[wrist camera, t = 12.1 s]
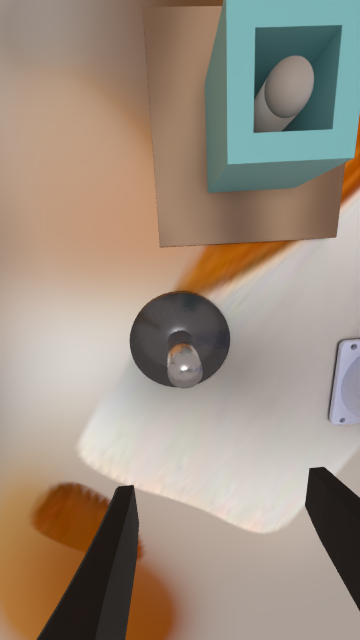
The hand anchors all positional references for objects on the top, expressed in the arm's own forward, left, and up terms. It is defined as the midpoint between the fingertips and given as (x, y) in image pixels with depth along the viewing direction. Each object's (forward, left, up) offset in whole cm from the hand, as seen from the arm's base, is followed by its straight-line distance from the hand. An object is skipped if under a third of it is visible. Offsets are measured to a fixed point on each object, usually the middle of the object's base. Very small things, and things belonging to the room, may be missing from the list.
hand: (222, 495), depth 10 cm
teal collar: (-4, -16, -9) cm, 19 cm away
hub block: (-4, -16, -10) cm, 19 cm away
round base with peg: (+1, -3, -10) cm, 11 cm away
